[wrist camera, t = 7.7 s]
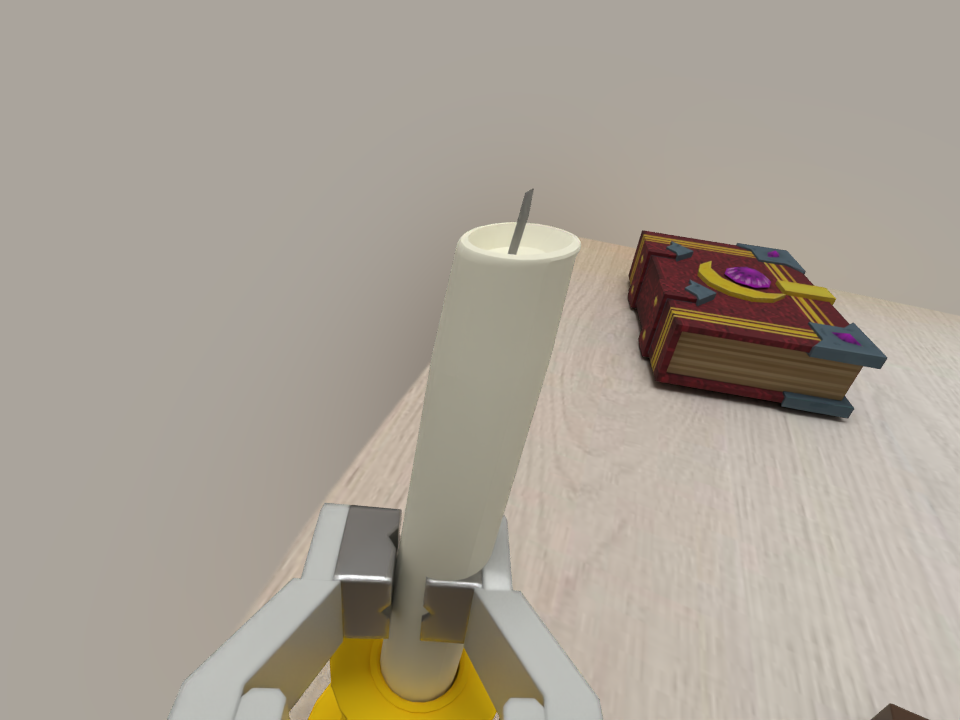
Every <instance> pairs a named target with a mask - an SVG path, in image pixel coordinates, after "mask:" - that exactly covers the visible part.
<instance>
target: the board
mask: <svg viewBox="0 0 960 720" xmlns="http://www.w3.org/2000/svg"><path fill="white" fill-rule="evenodd" d="M871 720H929V719H926V718H924V717H922V716H919V715H917V714H915V713H912V712H910V711H908V710H905V709H903V708H901V707H898V706H896V705H894V704H889V705H887V706H886V707H885V708H884V709H883V710H881V711H880V712H879V713H878V714H877V715H876V716H874V717H873V718H872V719H871Z"/></svg>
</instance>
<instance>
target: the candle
mask: <svg viewBox="0 0 960 720" xmlns="http://www.w3.org/2000/svg"><path fill="white" fill-rule="evenodd" d="M533 190H534V189H532V190H530V191H528V192H526V193H525V196H524V199H523V203H522V207H521V210H520V214H519V217H518V221H517V222H516V223H515V222H514V223H513V222H512V223H511V222H508V223H497V224H490V225H486V226H481V227H478V228H475V229H472V230H470V231H468V232H466V233H465V234H464V235H463V236H462V237H461V238H460V239H459V241H458V243H457V246H456V250H455V255H454V259H453V264H452V268H451V272H450V277H449V282H448V286H447V290H446V295H445V300H444V304H443V308H442V313H441V317H440V321H439V326H438V330H437V335H436V340H435V344H434V349H433V353H432V358H431V364H430V370H429V376H428V381H427V387H426V393H425V399H424V405H423V411H422V416H421V422H420V428H419V434H418V440H417V446H416V452H415V457H414V463H413V469H412V475H411V481H410V487H409V492H408V498H407V504H406V510H405V516H404V522H403V528H402V533H401V539H400V545H399V551H398V557H397V563H396V568H395V576H394V597H393V609H392V617H391V625H390V632H389V639H358V638H343V642H342V643H341V645H340V646H339V647H338V649H337V650H336V651H335V653H334V654H333V655H332V657H331V658H330V674H331V683H330V684H329V685H328V687H327V688H326V689H325V691H324V692H323V693H322V695H321V696H320V697H319V699H318V700H317V701H316V703H315V705H314V707H313V709H312V711H311V714H310V716H309V718H308V720H493V718H494V716H495V714H496V712H497V711H496V709H495V707H494V705H493V703H492V701H491V699H490V697H489V695H488V693H487V691H486V689H485V687H484V686H483V684H482V682H481V680H480V678H479V676H478V674H477V672H476V670H475V668H474V666H473V664H472V662H471V660H470V658H469V656H468V654H467V652H466V651H465V649H464V647H463V645H464V644H459V643H445V642H432V641H420V630H421V619H422V615H424V614H426V613H428V611H427V610H426V609H425V608H424V607H423V600H424V592H425V583H426V577H428V578H431V579H435V580H439V581H457V580H462V579H466V578H468V577H470V576H472V575H474V574H476V573H477V572H479V571H480V570H481V569H482V568H483V567H484V566H485V565H486V563H487V562H488V560H489V559H490V557H491V554H492V551H493V548H494V544H495V541H496V538H497V534H498V531H499V528H500V524H501V521H502V518H503V514H504V511H505V508H506V504H507V501H508V498H509V494H510V491H511V488H512V484H513V481H514V478H515V474H516V471H517V468H518V464H519V461H520V458H521V454H522V451H523V448H524V444H525V441H526V438H527V434H528V431H529V428H530V424H531V421H532V418H533V414H534V411H535V408H536V404H537V401H538V398H539V394H540V391H541V388H542V385H543V381H544V378H545V375H546V371H547V368H548V365H549V361H550V358H551V355H552V351H553V347H554V343H555V338H556V334H557V330H558V326H559V322H560V318H561V314H562V310H563V306H564V302H565V298H566V294H567V290H568V286H569V282H570V278H571V274H572V270H573V266H574V262H575V258H576V256H577V254H578V252H579V251H580V247H581V242H580V240H579V239H578V237H577V236H575V235H573V234H572V233H570V232H567V231H565V230H562V229H559V228H555V227H551V226H546V225H541V224H534V223H527V219H528V216H529V211H530V205H531V200H532V194H533Z"/></svg>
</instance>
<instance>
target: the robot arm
mask: <svg viewBox="0 0 960 720" xmlns="http://www.w3.org/2000/svg"><path fill="white" fill-rule="evenodd" d="M401 514H402V510H400V509H389V508H379V507H368V506H357V505H344V504H332V503H324V505H323V507H322V509H321V511H320V514H319V518H318V521H317V524H316V528H315V531H314V535H313V538H312V542H311V545H310V549H309V552H308V556H307V559H306V563H305V566H304V569H303V573H302V576H301V579H300V578H293V579H292V580H291V581H289V582H288V583H287V584H286V585H285V586H284V587H283V588H282V589H281V590H280V591H279V592H278V593H277V594H276V595H275V596H274V597H272V598H271V599H270V600H269V601H268V602H267V603H266V604H265V605H264V606H263V607H262V608H261V609H260V610H259V611H258V612H257V613H255V614H254V615H253V616H252V617H251V618H250V619H249V620H248V621H247V622H246V623H245V624H244V625H243V626H242V627H241V628H240V629H238V630H237V631H236V632H235V633H234V634H233V635H232V636H231V637H230V638H229V639H228V640H227V641H226V642H225V643H224V644H223V645H221V646H220V647H219V648H218V650H216V651H215V652H214V653H213V654H212V655H211V656H210V657H209V658H208V659H207V660H206V661H204V663H202V664H201V665H200V666H199V667H198V668H197V669H196V670H195V671H194V672H193V673H192V674H191V675H190V676H189V677H188V678H186V679H185V681H183V683H182V685H181V687H180V690H179V692H178V694H177V697H176V699H175V702H174V704H173V706H172V709H171V711H170V713H169V716H168V718H167V720H290V718H289V711H290V710H291V709H292V707H293V706H294V705H295V704H296V702H297V701H298V700H299V698H300V697H301V696H302V694H303V693H304V692H305V690H306V689H307V688H308V687H309V685H310V684H311V683H312V681H313V680H314V679H315V677H316V676H317V675H318V673H319V672H320V671H321V670H322V668H323V667H324V666H325V664H326V663H327V662H328V660H329V659H330V658H331V657H332V655H333V654H334V653H335V651H336V650H337V649H338V647H339V646H340V645H341V643H342V642H343V638H358V639H389V632H390V625H391V617H392V609H393V597H394V576H395V568H396V563H397V557H398V551H399V545H400V528H401ZM423 607H424V608H425V609H426V610H427V611H428V613H426V614H424V615H422V619H421V630H420V641H432V642H445V643H459V644H464V645H463V647H464V649H465V651H466V652H467V654H468V656H469V658H470V660H471V662H472V664H473V666H474V668H475V670H476V672H477V674H478V676H479V678H480V680H481V682H482V684H483V686H484V687H485V689H486V691H487V693H488V695H489V697H490V699H491V701H492V703H493V705H494V707H495V709H496V711H497V713H498V715H499V717H500V718H499V720H603V715H602V710H601V705H600V699H599V698H598V697H597V695H596V694H595V693H594V691H593V690H592V688H591V687H590V686H589V684H588V683H587V682H586V680H585V679H584V677H583V676H582V675H581V673H580V672H579V671H578V669H577V668H576V667H575V665H574V664H573V662H572V661H571V660H570V658H569V657H568V656H567V654H566V653H565V652H564V650H563V649H562V647H561V646H560V645H559V643H558V642H557V641H556V639H555V638H554V636H553V635H552V634H551V632H550V631H549V630H548V628H547V627H546V626H545V624H544V623H543V621H542V620H541V619H540V617H539V616H538V615H537V613H536V612H535V611H534V609H533V608H532V606H531V605H530V604H529V602H528V601H527V600H526V598H525V597H524V595H523V594H522V593H521V591H515V590H513V588H512V575H511V562H510V549H509V536H508V523H507V519H506V516H505V515H503V518H502V521H501V524H500V528H499V531H498V534H497V538H496V541H495V544H494V548H493V551H492V554H491V557H490V559H489V560H488V562H487V563H486V565H485V566H484V567H483V568H482V569H481V570H480V571H479V572H477V573H476V574H474V575H472V576H470V577H468V578H466V579H462V580H457V581H439V580H435V579H431V578H428V577H426V583H425V592H424V600H423Z"/></svg>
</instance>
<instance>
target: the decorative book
mask: <svg viewBox="0 0 960 720" xmlns="http://www.w3.org/2000/svg"><path fill="white" fill-rule="evenodd" d="M804 274H805V270H804V269H803V268H802V267H801V266H800V265H799V263H798V262H797V261H796V260H795V259H794V258H793V257H792V256H791V255H790V254H789V252H788V251H786V250H779V249H772V248H766V247H760V246H753V245H747V244H740V243H737V245H730V244H724V243H717V242H711V241H705V240H698V239H693V238H686V237H680V236H674V235H667V234H661V233H655V232H649V231H642V233H641V236H640V239H639V243H638V246H637V249H636V253H635V256H634V259H633V262H632V266H631V269H630V272H629V280H630V284H631V286H630V289H629V293H628V298H629V302H630V306H631V308H637V311H638V315H639V319H640V323H641V327H642V330H641V333H640V336H639V339H638V340H639V345H640V349H641V353H642V356H644V357H649V358H650V362H651V366H652V370H653V374H654V378H655V381H658V382H664V383H669V384H675V385H681V386H687V387H693V388H699V389H704V390H710V391H716V392H722V393H728V394H734V395H739V396H745V397H751V398H757V399H763V400H769V401H774V402H780V403H782V404H781V406H782V407H788V408H793V409H799V410H804V411H810V412H815V413H821V414H826V415H832V416H838V417H843V418H848V417H849V416H850V414H851V413H852V411H853V410H854V408H853V406H852V405H851V404H850V402H849V401H848V399H847V398H846V397H845V394H846V393H847V391H848V389H849V388H850V386H851V385H852V383H853V382H854V380H855V378H856V377H857V375H858V374H859V372H860V371H861V369H862V367H863V366H865V367H871V368H877V369H881V367H882V366H883V364H884V363H885V361H886V360H887V357H886V356H885V355H884V354H883V353H882V352H881V350H880V349H879V348H878V347H877V346H876V345H875V344H874V343H873V342H872V341H871V340H870V339H869V338H868V337H867V336H866V335H865V334H864V333H863V332H862V331H861V330H860V329H859V328H858V327H857V326H856V325H855V324H854V323H852V324H849V323H848V322H847V321H846V320H845V319H844V318H843V317H842V315H841V314H840V313H839V312H838V311H837V310H836V309H835V308H834V307H833V306H832V305H833V304H834V302H835V300H836V298H835V297H834V296H833V295H832V294H831V293H830V292H829V291H828V290H827V289H826V288H823V287H817V286H814V285H813V284H812V283H811V282H810V281H809V280H808V278H807V277H806V276H805V275H804Z"/></svg>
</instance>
